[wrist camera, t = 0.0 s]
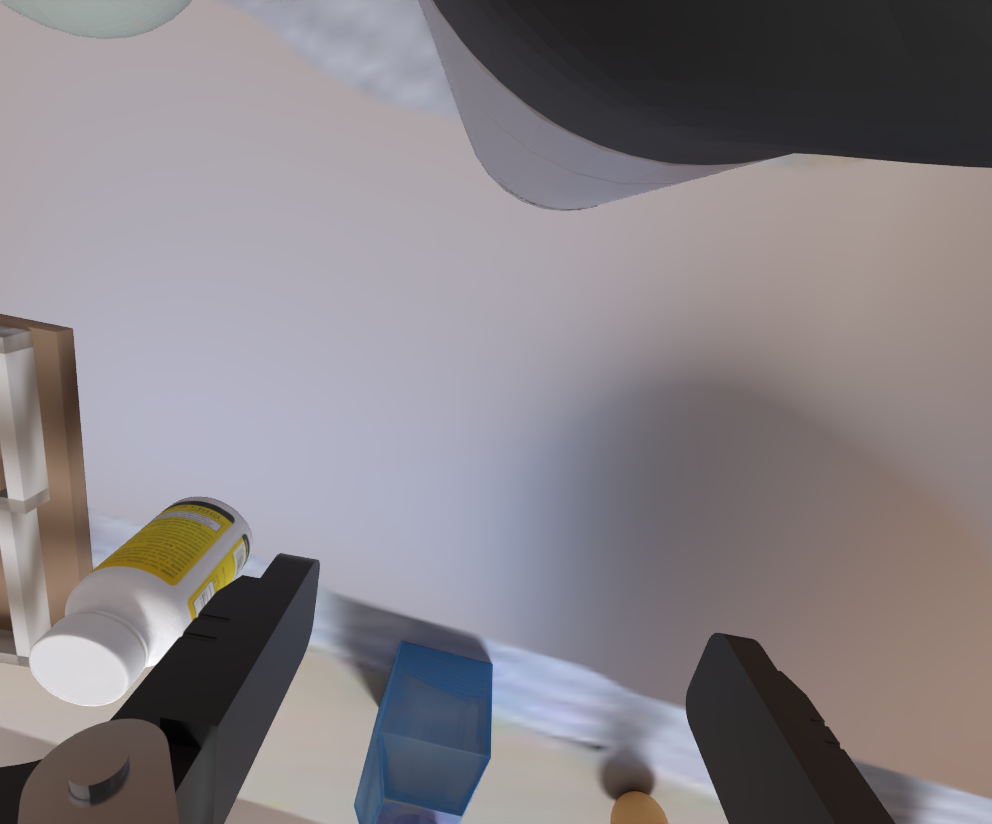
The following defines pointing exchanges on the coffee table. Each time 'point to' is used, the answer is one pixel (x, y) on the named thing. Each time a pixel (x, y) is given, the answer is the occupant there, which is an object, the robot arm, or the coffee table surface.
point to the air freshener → (99, 15)
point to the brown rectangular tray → (39, 483)
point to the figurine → (637, 810)
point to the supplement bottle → (140, 601)
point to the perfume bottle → (427, 740)
